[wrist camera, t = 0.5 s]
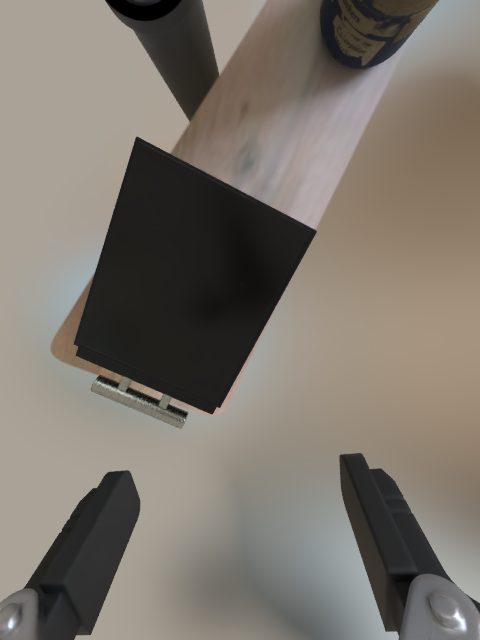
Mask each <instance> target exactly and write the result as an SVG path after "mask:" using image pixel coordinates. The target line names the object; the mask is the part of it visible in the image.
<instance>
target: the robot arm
mask: <svg viewBox="0 0 480 640" xmlns="http://www.w3.org/2000/svg"><path fill="white" fill-rule="evenodd" d="M126 1H127V2H129V3H132V4H135V5H139V6H148V5H153V4H156V3H158V2H160V1H161V0H126ZM340 478H341V491H342V496H343V500H344V504H345V508H346V511H347V514H348V517H349V520H350V523H351V526H352V529H353V532H354V535H355V538H356V541H357V544H358V548H359V551H360V553H361V557H362V559H363V563H364V566H365V569H366V572H367V575H368V578H369V581H370V584H371V587H372V590H373V594H374V597H375V600H376V603H377V606H378V609H379V612H380V615H381V618H382V621H383V624H384V627H385V630H386V631H397V632H398V635H399V640H480V603H478V602H477V601H475V600H473V599H472V598H471V597H469V596H468V595H467V594H465V593H464V592H463V591H462V590H461V589H459V587H457V586H456V585H455V583H454V582H452V580H451V579H450V578H449V576H448V575H447V574H446V572H445V571H444V569H443V567H442V565H441V564H440V562H439V560H438V558H437V557H436V555H435V553H434V551H433V550H432V548H431V546H430V544H429V542H428V540H427V538H426V537H425V535H424V533H423V531H422V529H421V528H420V526H419V524H418V522H417V521H416V519H415V517H414V515H413V514H412V513H411V510H410V508H409V506H408V504H407V502H406V501H405V500H404V498H403V495H402V493H401V492H400V490H399V488H398V486H397V485H396V483H395V481H394V480H393V479H392V478H391V477H390V476H389V475H388V474H386V473H385V472H384V471H383V470H382V469H369V467H368V465H367V463H366V460H365V458H364V457H363V455H362V454H361V453H356V454H343V455H340ZM139 512H140V498H139V495H138V492H137V490H136V487H135V484H134V481H133V478H132V475H131V473H130V471H128V470H127V471H114V472H108V473H107V474H106V475H105V476H104V478H103V479H102V481H101V483H100V484H99V486H98V487H97V488H93V489H92V490H91V491H90V492H89V493H88V494H87V495H86V496H85V497H84V498H83V499H82V500H81V501H80V502H79V504H78V505H77V507H76V508H75V510H74V511H73V513H72V514H71V516H70V519H69V520H68V521H67V522H66V524H65V525H64V527H63V529H62V532H61V533H59V535H58V536H57V538H56V539H55V541H54V542H53V544H52V546H51V547H50V549H49V550H48V552H47V553H46V555H45V556H44V558H43V560H42V561H41V563H40V565H39V566H38V567H37V569H36V571H35V572H34V574H33V575H32V577H31V578H30V580H29V581H28V583H27V584H26V586H25V587H24V588H23V589H22V590H20V591H17V592H15V593H13V594H11V595H10V596H8V597H7V598H6V599H4V600H3V601H2V602H1V603H0V640H74V639H75V636H76V635H91V633H92V630H93V628H94V626H95V623H96V621H97V618H98V616H99V613H100V611H101V608H102V606H103V603H104V601H105V598H106V596H107V593H108V591H109V588H110V586H111V584H112V581H113V578H114V576H115V574H116V571H117V569H118V566H119V564H120V561H121V559H122V556H123V554H124V551H125V549H126V547H127V544H128V542H129V539H130V537H131V534H132V531H133V529H134V527H135V524H136V522H137V519H138V516H139Z"/></svg>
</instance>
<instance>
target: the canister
mask: <svg viewBox="0 0 480 640" xmlns="http://www.w3.org/2000/svg"><path fill="white" fill-rule="evenodd" d="M438 1H439V0H322V2H321V9H320V21H321V30H322V35H323V38H324V41H325V43H326V46H327V47H328V49H329V51H330V52H331V54H332V55H333V56H334V57H335V58H336V59H337V60H338V61H339V62H341V63H342V64H344V65H346V66H348V67H351V68H360V69H362V68H369V67H372V66H375V65H378V64H380V63H382V62H384V61H385V60H387V59H388V58H389V57H391V56H392V55H393V54H394V53H395V52H396V51H397V50H398V49H399V48H400V47H401V46H402V45H403V44H404V42H405V41H406V40H407V39H408V38H409V36H410V35H411V34H412V33H413V31H414V30H415V29H416V28H417V26H418V25H419V24H420V23H421V22H422V21H423V19H424V18H425V17H426V16H427V14H428V13H429V12H430V11H431V9H432V8H433V7H434V6H435V5H436V3H437V2H438Z"/></svg>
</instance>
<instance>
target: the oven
mask: <svg viewBox="0 0 480 640" xmlns="http://www.w3.org/2000/svg"><path fill="white" fill-rule="evenodd" d="M316 232H317V231H316V230H314V229H312V228H310V227H308V226H307V225H305V224H303V223H301V222H299V221H297V220H295V219H293V218H291V217H289V216H287V215H286V214H284V213H282V212H280V211H278V210H276V209H274V208H272V207H270V206H268V205H266V204H265V203H263V202H261V201H259V200H257V199H255V198H253V197H251V196H249V195H247V194H245V193H244V192H242V191H240V190H238V189H236V188H234V187H232V186H230V185H228V184H226V183H224V182H223V181H221V180H219V179H217V178H215V177H213V176H211V175H209V174H207V173H205V172H204V171H202V170H200V169H198V168H196V167H194V166H192V165H190V164H188V163H186V162H184V161H183V160H181V159H179V158H177V157H175V156H173V155H171V154H169V153H167V152H165V151H163V150H161V149H160V148H158V147H156V146H154V145H152V144H150V143H148V142H146V141H144V140H142V139H141V138H139V137H136V139H135V142H134V146H133V149H132V152H131V156H130V159H129V162H128V166H127V169H126V172H125V176H124V179H123V182H122V185H121V189H120V192H119V196H118V199H117V202H116V205H115V209H114V212H113V215H112V219H111V222H110V225H109V229H108V232H107V235H106V238H105V242H104V245H103V249H102V252H101V255H100V258H99V262H98V265H97V268H96V272H95V275H94V278H93V282H92V285H91V288H90V291H89V295H88V298H87V301H86V305H85V308H84V311H83V315H82V318H81V321H80V325H79V328H78V331H77V334H76V338H75V341H74V345H76V346H79V347H81V348H83V349H86V350H88V351H90V352H92V353H95V354H97V355H99V356H102V357H104V358H106V359H108V360H111V361H113V362H115V363H118V364H120V365H122V366H125V367H127V368H129V369H131V370H134V371H136V372H138V373H141V374H143V375H145V376H147V377H150V378H152V379H154V380H157V381H159V382H161V383H164V384H166V385H168V386H170V387H173V388H175V389H177V390H180V391H182V392H184V393H186V394H189V395H191V396H193V397H196V398H198V399H200V400H203V401H205V402H207V403H209V404H212V405H214V406H216V407H219V408H220V407H221V405H222V403H223V402H224V400H225V398H226V396H227V394H228V392H229V391H230V389H231V387H232V385H233V383H234V382H235V380H236V378H237V376H238V374H239V372H240V371H241V369H242V367H243V365H244V363H245V362H246V360H247V358H248V356H249V354H250V352H251V351H252V349H253V347H254V345H255V343H256V342H257V340H258V338H259V336H260V334H261V332H262V331H263V329H264V327H265V325H266V323H267V322H268V320H269V318H270V316H271V314H272V312H273V311H274V309H275V307H276V305H277V303H278V302H279V300H280V298H281V296H282V294H283V292H284V291H285V289H286V287H287V285H288V283H289V282H290V280H291V278H292V276H293V274H294V272H295V271H296V269H297V267H298V265H299V263H300V262H301V260H302V258H303V256H304V254H305V252H306V251H307V249H308V247H309V245H310V243H311V241H312V240H313V238H314V236H315V234H316Z"/></svg>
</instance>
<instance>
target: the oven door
mask: <svg viewBox="0 0 480 640" xmlns="http://www.w3.org/2000/svg"><path fill="white" fill-rule="evenodd" d="M76 356H78V357H80V358H82V359H85V360H87V361H89V362H92V363H94V364H96V365H99V366H101V367H103V368H105V369H108V370H110V371H112V372H115V373H117V374H119V375H122V378H121V381H120V383H119V382H116V381H114V380H112V379H109V378H107V377H105V376H102V375H99V376H98V377H97V378H96V380H95V381H94V383H93V385H92V387H91V391H92V392H95V393H97V394H99V395H102V396H104V397H107V398H109V399H111V400H114V401H116V402H118V403H121V404H123V405H125V406H128V407H130V408H133V409H135V410H138V411H140V412H142V413H144V414H147V415H149V416H152V417H154V418H156V419H159V420H161V421H163V422H166V423H168V424H171V425H173V426H175V427H178V428H180V429H181V428H182V427H183V425H184V423H185V421H186V418H187V416H188V412H186V411H184V410H182V409H179V408H177V407H175V406H172V405H170V404H169V402H170V400H171V398H172V397H173V398H175V399H177V400H180V401H182V402H184V403H187V404H189V405H191V406H193V407H196V408H198V409H200V410H203V411H205V412H207V413H210V414H213V413H214V411H215V409H216V406H214V405H212V404H209V403H207V402H205V401H203V400H200V399H198V398H196V397H193V396H191V395H189V394H186V393H184V392H182V391H180V390H177V389H175V388H173V387H170V386H168V385H166V384H164V383H161V382H159V381H157V380H154V379H152V378H150V377H147V376H145V375H143V374H141V373H138V372H136V371H134V370H131V369H129V368H127V367H125V366H122V365H120V364H118V363H115V362H113V361H111V360H108V359H106V358H104V357H102V356H99V355H97V354H95V353H92V352H90V351H88V350H86V349H83V348H81V347H78V350H77V353H76ZM132 380H133V381H136V382H138V383H140V384H143V385H145V386H147V387H149V388H152V389H154V390H156V391H159V392H161V393H163V396H162V398H161V400H158V399H156V398H154V397H151V396H149V395H147V394H144V393H142V392H140V391H137V390H135V389H133V388H130V387H129V386H130V384H131V381H132Z"/></svg>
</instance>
